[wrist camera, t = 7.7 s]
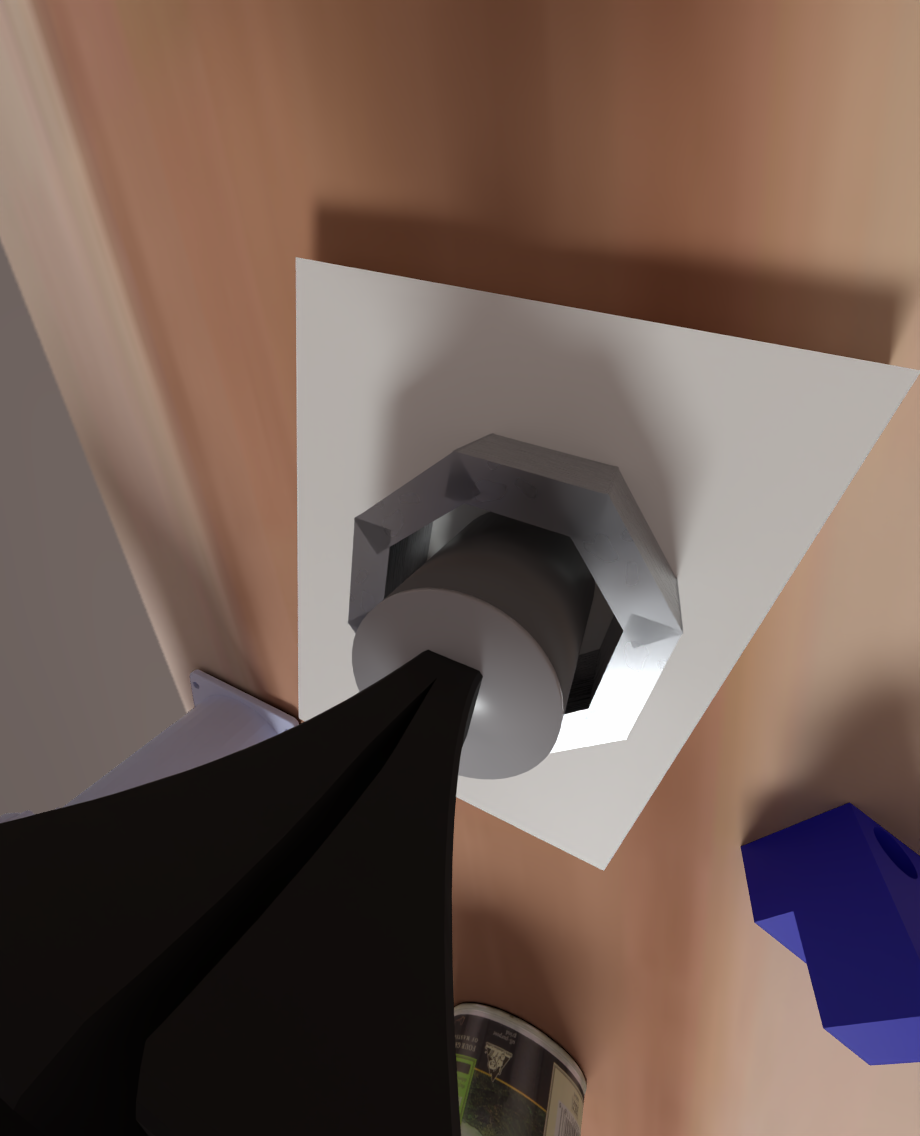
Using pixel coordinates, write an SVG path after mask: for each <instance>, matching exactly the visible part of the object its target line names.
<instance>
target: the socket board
mask: <svg viewBox="0 0 920 1136" xmlns="http://www.w3.org/2000/svg"><path fill="white" fill-rule="evenodd" d="M296 370H297V532H298V694H299V719H301V720H303V721H307V720H309V719H311V718H313V717H315V716H317V715H319V714H321V713H322V712H324V711H326V710H328V709H330V708H332V707H334V706H336V705H338V704H339V703H341V702H343V701H345V700H347V699H348V698H350V697H352V696H354V695H355V694H357V693H359V689H358V687H357V684H356V681H355V677H354V673H353V666H352V647H353V641H354V638H355V634H356V631H357V629H358V627H359V625H360V624H361V622H362V620H363V619H364V618H365V617H366V615H367V614H368V613H369V612H370V611H371V610H372V609H373V608H375V607H376V606H377V605H378V604H379V603H380V602H381V601H383V600H384V599H385V598H386V597H387V596H388V595H389V594H390V593H392V592H393V591H394V590H395V589H396V588H397V587H398V586H399V585H401V584H402V583H403V582H404V581H405V580H406V579H407V578H408V577H410V576H411V575H412V574H413V573H414V572H415V571H416V570H417V569H419V568H420V567H421V566H422V565H423V564H424V563H425V562H426V561H428V560H429V559H430V558H431V557H432V556H433V555H434V554H435V553H437V552H438V551H439V550H440V549H441V548H442V547H443V546H444V545H446V544H447V543H448V542H449V541H450V540H451V539H452V538H453V537H455V536H456V535H457V534H458V533H459V532H460V531H461V530H462V529H464V528H465V527H466V526H467V525H468V524H469V523H470V522H471V521H473V520H474V519H476V518H477V517H479V516H481V515H483V514H485V513H487V512H494V513H497V514H500V515H503V516H506V517H509V518H513V519H516V520H519V521H522V522H525V523H528V524H532V525H535V526H538V527H541V528H544V529H548V530H551V531H554V532H557V533H560V534H563V535H567V536H570V537H571V539H572V541H573V542H574V544H575V546H576V548H577V550H578V551H579V553H580V555H581V557H582V558H583V560H584V562H585V564H586V565H587V567H588V569H589V571H590V572H591V574H592V576H593V578H594V580H595V590H594V597H593V601H592V605H591V609H590V613H589V617H588V621H587V625H586V629H585V633H584V637H583V641H582V645H581V649H580V653H579V657H578V661H577V665H576V669H575V673H574V677H573V681H572V685H571V689H570V693H569V697H568V701H567V705H566V709H565V713H564V717H563V721H562V726H561V730H560V733H559V736H558V739H557V742H556V744H555V745H554V747H553V749H552V751H551V752H550V753H549V755H548V756H547V757H546V758H545V759H544V760H543V761H542V762H541V763H540V764H538V765H537V766H536V767H534V768H532V769H531V770H529V771H527V772H525V773H522V774H520V775H517V776H513V777H509V778H504V779H493V780H492V779H475V778H468V777H464V776H460V775H458V782H457V792H456V797H457V798H459V799H461V800H463V801H465V802H467V803H469V804H471V805H473V806H475V807H477V808H479V809H481V810H483V811H485V812H487V813H489V814H491V815H493V816H495V817H497V818H499V819H501V820H503V821H505V822H507V823H509V824H511V825H513V826H515V827H517V828H519V829H521V830H523V831H525V832H527V833H529V834H531V835H533V836H535V837H537V838H539V839H541V840H543V841H545V842H547V843H549V844H551V845H553V846H555V847H557V848H559V849H561V850H563V851H565V852H567V853H569V854H571V855H573V856H575V857H577V858H579V859H581V860H583V861H585V862H587V863H589V864H591V865H593V866H595V867H597V868H599V869H601V870H603V871H604V870H605V868H606V866H607V865H608V863H609V862H610V860H611V859H612V857H613V855H614V854H615V852H616V851H617V849H618V848H619V846H620V844H621V843H622V841H623V840H624V838H625V837H626V835H627V833H628V832H629V830H630V829H631V827H632V825H633V824H634V822H635V821H636V819H637V818H638V816H639V814H640V813H641V811H642V810H643V808H644V807H645V805H646V803H647V802H648V800H649V799H650V797H651V796H652V794H653V792H654V791H655V789H656V788H657V786H658V785H659V783H660V781H661V780H662V778H663V777H664V775H665V774H666V772H667V770H668V769H669V767H670V766H671V764H672V763H673V761H674V759H675V758H676V756H677V755H678V753H679V752H680V750H681V748H682V747H683V745H684V744H685V742H686V740H687V739H688V737H689V736H690V734H691V733H692V731H693V729H694V728H695V726H696V725H697V723H698V722H699V720H700V718H701V717H702V715H703V714H704V712H705V711H706V709H707V707H708V706H709V704H710V703H711V701H712V700H713V698H714V696H715V695H716V693H717V692H718V690H719V689H720V687H721V685H722V684H723V682H724V681H725V679H726V678H727V676H728V674H729V673H730V671H731V670H732V668H733V666H734V665H735V663H736V662H737V660H738V659H739V657H740V655H741V654H742V652H743V651H744V649H745V648H746V646H747V644H748V643H749V641H750V640H751V638H752V637H753V635H754V633H755V632H756V630H757V629H758V627H759V626H760V624H761V622H762V621H763V619H764V618H765V616H766V615H767V613H768V611H769V610H770V608H771V607H772V605H773V604H774V602H775V600H776V599H777V597H778V596H779V594H780V592H781V591H782V589H783V588H784V586H785V585H786V583H787V581H788V580H789V578H790V577H791V575H792V574H793V572H794V570H795V569H796V567H797V566H798V564H799V563H800V561H801V559H802V558H803V556H804V555H805V553H806V552H807V550H808V548H809V547H810V545H811V544H812V542H813V541H814V539H815V537H816V536H817V534H818V533H819V531H820V530H821V528H822V526H823V525H824V523H825V522H826V520H827V518H828V517H829V515H830V514H831V512H832V511H833V509H834V507H835V506H836V504H837V503H838V501H839V500H840V498H841V496H842V495H843V493H844V492H845V490H846V489H847V487H848V485H849V484H850V482H851V481H852V479H853V478H854V476H855V474H856V473H857V471H858V470H859V468H860V467H861V465H862V463H863V462H864V460H865V459H866V457H867V456H868V454H869V452H870V451H871V449H872V448H873V446H874V444H875V443H876V441H877V440H878V438H879V437H880V435H881V433H882V432H883V430H884V429H885V427H886V426H887V424H888V422H889V421H890V419H891V418H892V416H893V415H894V413H895V411H896V410H897V408H898V407H899V405H900V404H901V402H902V400H903V399H904V397H905V396H906V394H907V393H908V391H909V389H910V388H911V386H912V385H913V383H914V382H915V380H916V378H917V377H918V375H919V374H920V370H915V369H910V368H904V367H899V366H893V365H888V364H882V363H877V362H871V361H866V360H860V359H855V358H849V357H843V356H838V355H832V354H827V353H821V352H816V351H810V350H805V349H799V348H794V347H788V346H783V345H777V344H772V343H766V342H761V341H755V340H750V339H744V338H739V337H733V336H728V335H722V334H717V333H711V332H705V331H700V330H694V329H689V328H683V327H678V326H672V325H667V324H661V323H656V322H650V321H645V320H639V319H634V318H628V317H623V316H617V315H612V314H606V313H601V312H595V311H590V310H584V309H578V308H573V307H567V306H562V305H556V304H551V303H545V302H540V301H534V300H529V299H523V298H518V297H512V296H507V295H501V294H496V293H490V292H485V291H479V290H474V289H468V288H463V287H457V286H452V285H446V284H440V283H435V282H429V281H424V280H418V279H413V278H407V277H402V276H396V275H391V274H385V273H380V272H374V271H369V270H363V269H358V268H352V267H347V266H341V265H336V264H330V263H325V262H319V261H313V260H308V259H302V258H297V257H296Z"/></svg>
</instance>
